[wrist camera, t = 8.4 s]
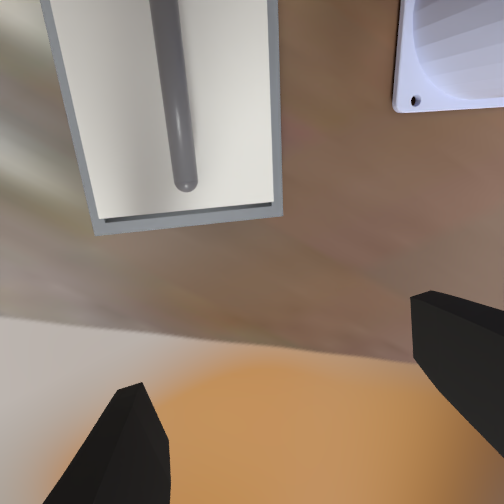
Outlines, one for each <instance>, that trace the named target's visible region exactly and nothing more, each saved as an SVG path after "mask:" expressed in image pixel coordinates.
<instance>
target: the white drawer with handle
mask: <svg viewBox="0 0 504 504" xmlns="http://www.w3.org/2000/svg"><path fill="white" fill-rule="evenodd" d="M50 4H51V8H52V12H53V17H54V21H55V26H56V30H57V35H58V39H59V44H60V48H61V52H62V57H63V61H64V66H65V70H66V75H67V79H68V84H69V88H70V92H71V97H72V101H73V106H74V110H75V115H76V119H77V124H78V128H79V132H80V137H81V141H82V146H83V150H84V155H85V159H86V164H87V168H88V172H89V177H90V181H91V186H92V190H93V195H94V199H95V204H96V208H97V212H98V217H99V219H105V218H115V217H125V216H135V215H145V214H155V213H165V212H175V211H185V210H195V209H205V208H215V207H225V206H235V205H245V204H255V203H265V202H274V194H273V164H272V134H271V105H270V75H269V45H268V15H267V0H50Z"/></svg>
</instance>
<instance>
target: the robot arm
mask: <svg viewBox="0 0 504 504" xmlns="http://www.w3.org/2000/svg"><path fill="white" fill-rule="evenodd" d="M413 96H414V97H415V98H416V102H415V104H414V106H412V105H411V99H412V97H413ZM392 104H393V108H394V110H395V111H396V112H398V113H410V112H427V111H443V110H460V109H477V108H493V107H504V0H401V6H400V18H399V30H398V42H397V54H396V65H395V77H394V89H393V101H392ZM410 300H411V319H412V338H413V358H414V359H415V360H416V362H417V363H418V364H419V366H420V367H421V368H422V370H423V371H424V372H425V374H426V375H427V376H428V378H429V379H430V380H431V382H432V383H433V384H434V385H435V387H436V388H437V389H438V390H439V392H441V393H442V395H443V396H444V397H445V398H446V399H447V400H448V401H449V402H450V403H451V404H452V405H453V406H454V407H455V408H456V409H457V410H458V411H459V412H460V414H461V415H462V416H463V417H464V418H465V419H466V420H467V421H469V423H470V424H471V425H472V426H473V427H474V428H475V429H476V430H477V431H478V432H479V433H480V434H481V435H482V436H483V437H484V438H485V439H486V440H487V441H488V442H489V443H490V444H491V445H492V446H493V447H494V448H495V449H496V450H497V451H498V452H499V454H501V456H502V457H503V458H504V311H502V310H499V309H496V308H492V307H489V306H486V305H482V304H479V303H476V302H472V301H469V300H466V299H462V298H459V297H455V296H452V295H448V294H444V293H440V292H436V291H428V292H425V293H422V294H418V295H415V296H412V297H410ZM170 489H171V476H170V455H169V440H168V437H167V435H166V433H165V431H164V429H163V426H162V424H161V422H160V420H159V418H158V416H157V413H156V411H155V409H154V407H153V405H152V402H151V400H150V398H149V396H148V394H147V392H146V389H145V387H144V385H143V383H142V382H141V383H138V384H135V385H132V386H128V387H125V388H122V389H119V390H117V392H116V393H115V395H114V396H113V398H112V399H111V401H110V402H109V404H108V405H107V407H106V409H105V410H104V412H103V413H102V415H101V416H100V418H99V420H98V421H97V423H96V424H95V426H94V427H93V429H92V431H91V432H90V434H89V435H88V437H87V438H86V440H85V442H84V443H83V445H82V446H81V448H80V449H79V451H78V452H77V454H76V455H75V457H74V458H73V460H72V461H71V463H70V465H69V466H68V468H67V469H66V471H65V472H64V474H63V475H62V477H61V478H60V480H59V481H58V482H57V484H56V485H55V487H54V488H53V490H52V491H51V493H50V494H49V495H48V497H47V498H46V500H45V501H44V502H43V504H170Z"/></svg>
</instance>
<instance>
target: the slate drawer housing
mask: <svg viewBox="0 0 504 504" xmlns="http://www.w3.org/2000/svg"><path fill="white" fill-rule="evenodd" d="M40 3H41V7H42V12H43V16H44V20H45V24H46V29H47V33H48V37H49V42H50V46H51V50H52V54H53V59H54V63H55V67H56V72H57V76H58V80H59V84H60V89H61V93H62V97H63V101H64V106H65V110H66V114H67V119H68V123H69V127H70V131H71V136H72V140H73V144H74V149H75V153H76V157H77V161H78V166H79V170H80V174H81V178H82V183H83V187H84V191H85V196H86V200H87V204H88V208H89V213H90V217H91V221H92V226H93V230H94V234H95V236H101V235H110V234H119V233H129V232H138V231H147V230H157V229H166V228H175V227H185V226H194V225H204V224H213V223H222V222H232V221H241V220H250V219H260V218H269V217H278V216H283V195H282V153H281V111H280V70H279V28H278V0H267V15H268V45H269V75H270V105H271V134H272V164H273V194H274V202H265V203H255V204H245V205H235V206H225V207H215V208H205V209H195V210H185V211H175V212H165V213H155V214H145V215H135V216H125V217H115V218H105V219H99V217H98V212H97V208H96V204H95V199H94V195H93V190H92V186H91V181H90V177H89V172H88V168H87V164H86V159H85V155H84V150H83V146H82V141H81V137H80V132H79V128H78V124H77V119H76V115H75V110H74V106H73V101H72V97H71V92H70V88H69V84H68V79H67V75H66V70H65V66H64V61H63V57H62V52H61V48H60V44H59V39H58V35H57V30H56V26H55V21H54V17H53V12H52V8H51V4H50V0H40Z"/></svg>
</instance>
